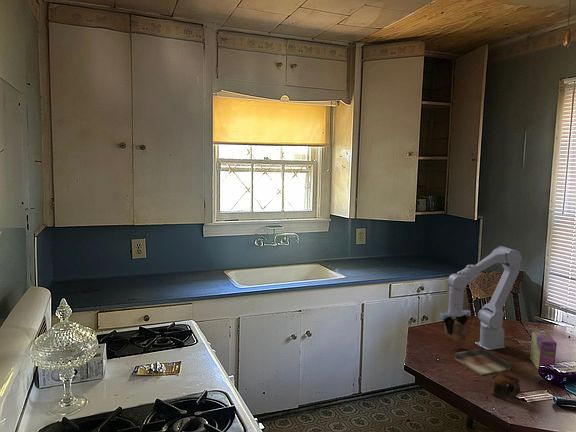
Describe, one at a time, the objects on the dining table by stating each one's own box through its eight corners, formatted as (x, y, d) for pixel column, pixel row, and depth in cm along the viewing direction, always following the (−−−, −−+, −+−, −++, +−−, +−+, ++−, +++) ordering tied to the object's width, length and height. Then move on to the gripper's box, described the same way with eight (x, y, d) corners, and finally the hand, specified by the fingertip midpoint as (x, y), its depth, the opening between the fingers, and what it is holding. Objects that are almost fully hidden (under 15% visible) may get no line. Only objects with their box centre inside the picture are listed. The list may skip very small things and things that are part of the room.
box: (554, 372, 174) (557, 342, 172) (538, 370, 175) (540, 341, 173) (545, 360, 184) (547, 332, 182) (529, 359, 185) (531, 331, 183)
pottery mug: (482, 390, 160) (489, 368, 162) (504, 400, 162) (511, 378, 163) (505, 399, 149) (512, 374, 150) (529, 409, 150) (536, 385, 152)
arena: (481, 354, 189) (482, 348, 189) (510, 369, 175) (510, 363, 175) (454, 358, 185) (454, 352, 184) (481, 375, 171) (481, 368, 170)
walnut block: (452, 332, 199) (453, 319, 199) (465, 339, 192) (465, 325, 191) (444, 334, 198) (444, 320, 197) (456, 340, 190) (457, 327, 190)
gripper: (463, 298, 199) (461, 327, 201) (435, 301, 194) (434, 331, 196) (474, 302, 193) (473, 333, 194) (446, 306, 188) (445, 337, 189)
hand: (454, 333), depth 195 cm, fingers closed on walnut block, 4 cm apart
